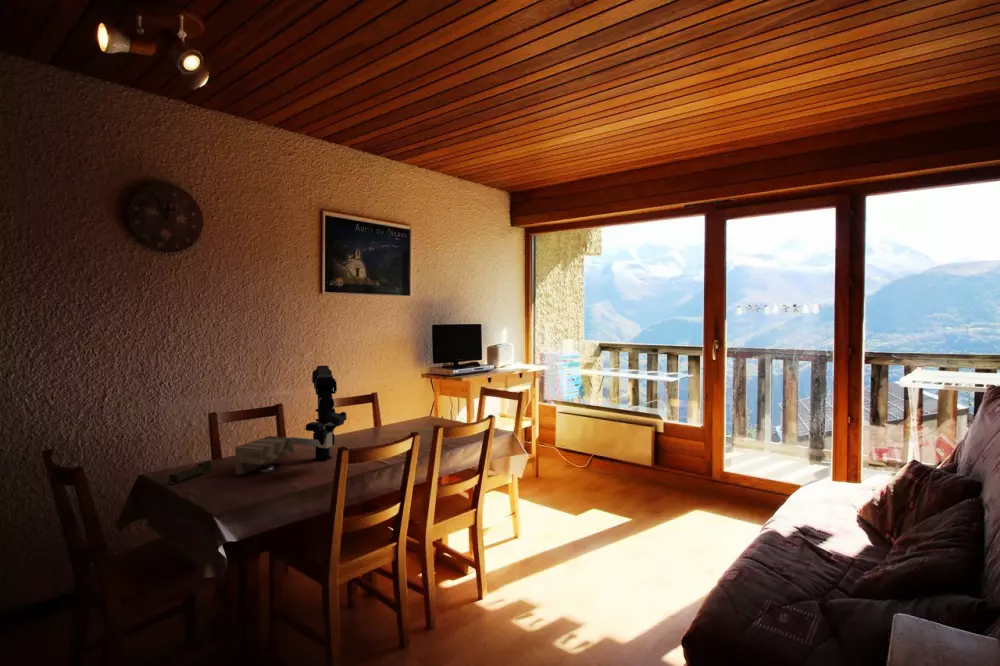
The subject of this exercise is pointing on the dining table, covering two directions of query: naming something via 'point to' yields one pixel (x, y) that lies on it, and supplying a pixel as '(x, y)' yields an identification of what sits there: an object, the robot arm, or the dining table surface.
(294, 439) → the blade tool
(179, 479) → the hand tool
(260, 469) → the steel token
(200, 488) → the dining table surface
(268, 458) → the beige stepped block
